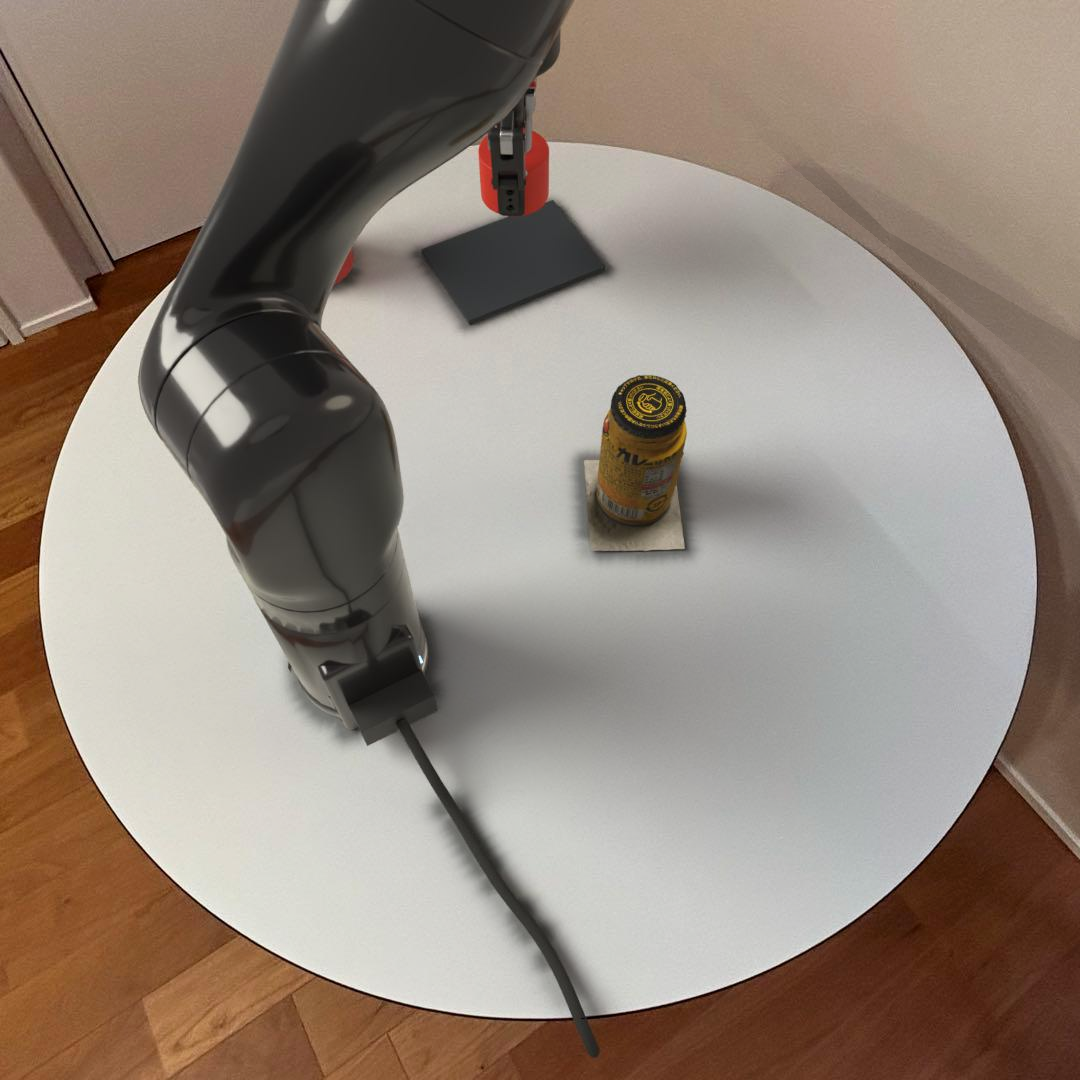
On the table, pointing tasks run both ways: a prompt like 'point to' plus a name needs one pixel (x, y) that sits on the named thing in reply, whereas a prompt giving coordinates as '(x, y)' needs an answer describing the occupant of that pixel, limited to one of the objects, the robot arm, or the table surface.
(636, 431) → the condiment
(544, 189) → the red cylinder
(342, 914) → the table surface
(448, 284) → the dark rectangular pad
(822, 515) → the table surface
